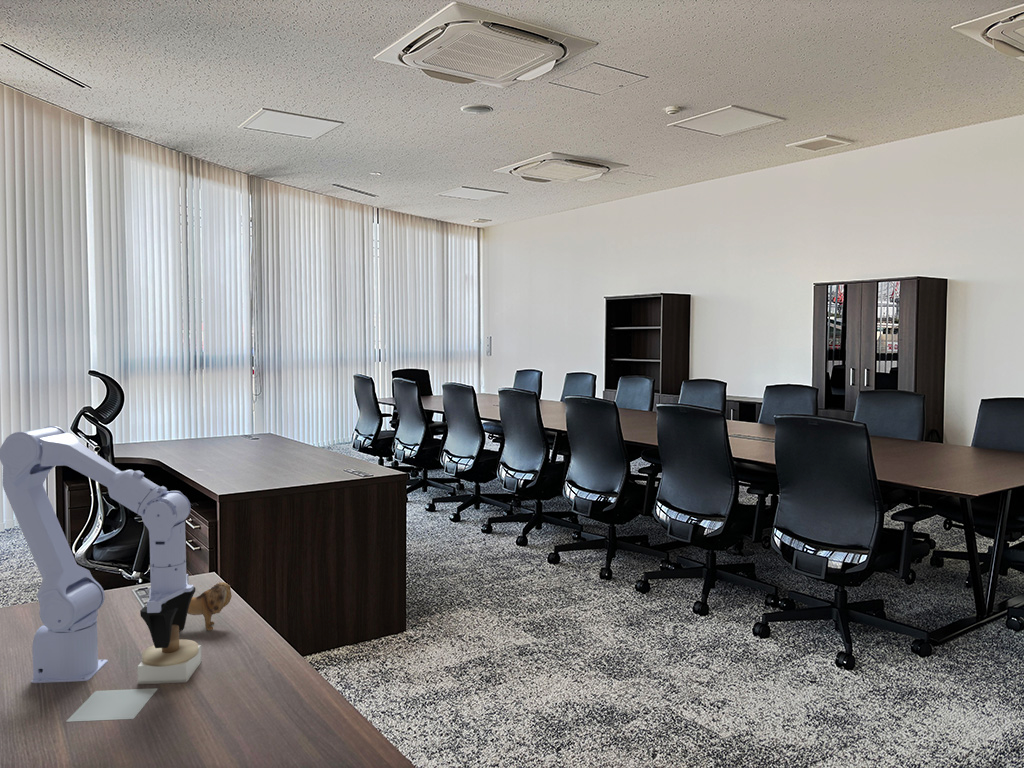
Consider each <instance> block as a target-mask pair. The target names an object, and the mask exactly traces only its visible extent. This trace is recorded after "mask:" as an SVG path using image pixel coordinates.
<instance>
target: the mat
mask: <svg viewBox="0 0 1024 768" xmlns="http://www.w3.org/2000/svg"><path fill="white" fill-rule="evenodd" d="M158 690H159V688H134V689H133V688H132V689H131V688H130V689H111V690H110V689H109V690H108V689H107V690H95V691H94V692H92V694H91V695H90V696H89V697H88V698H87V699H86V700H85V701H84V702H83V703H82V704H81V705H80V706H79V708H77V709H76V710H75V711H74V712H73V713H72V715H71V716H69V718H67V720H65V723H77V722H97V721H98V722H99V721H101V722H102V721H120V720H122V721H123V720H134V719H135V718H136V716H137V715H139V713H140V712H141V710H143V708H144V707H145V705H147V703H148V701H150V699H151V698H152V697H153V695H154V694H155V693H156V692H157V691H158Z"/></svg>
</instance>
